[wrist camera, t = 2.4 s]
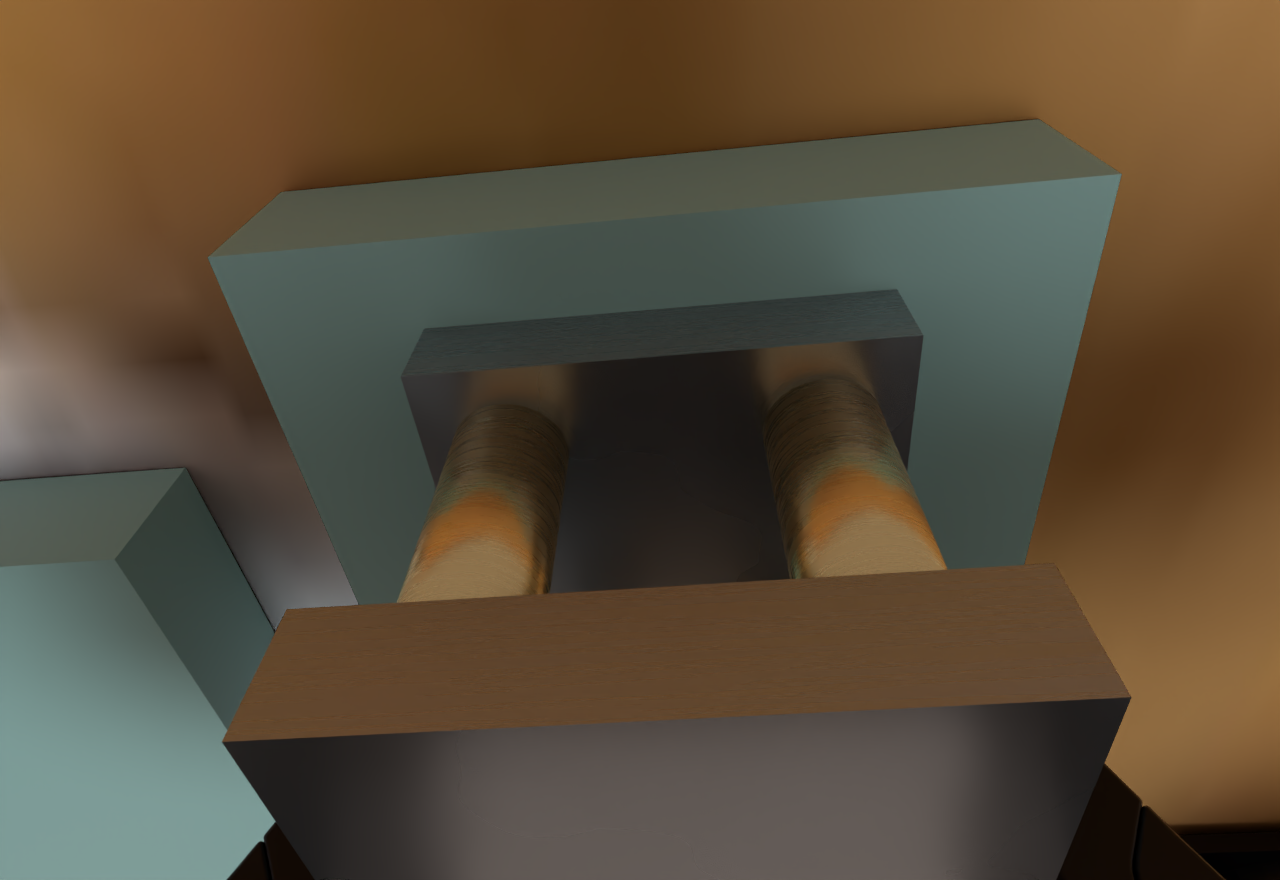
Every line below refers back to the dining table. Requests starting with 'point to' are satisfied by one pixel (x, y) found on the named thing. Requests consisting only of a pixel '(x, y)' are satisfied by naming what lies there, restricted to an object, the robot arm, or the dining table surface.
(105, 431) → the dining table surface
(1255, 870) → the robot arm
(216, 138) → the dining table surface
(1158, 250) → the dining table surface
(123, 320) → the dining table surface
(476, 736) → the housing
